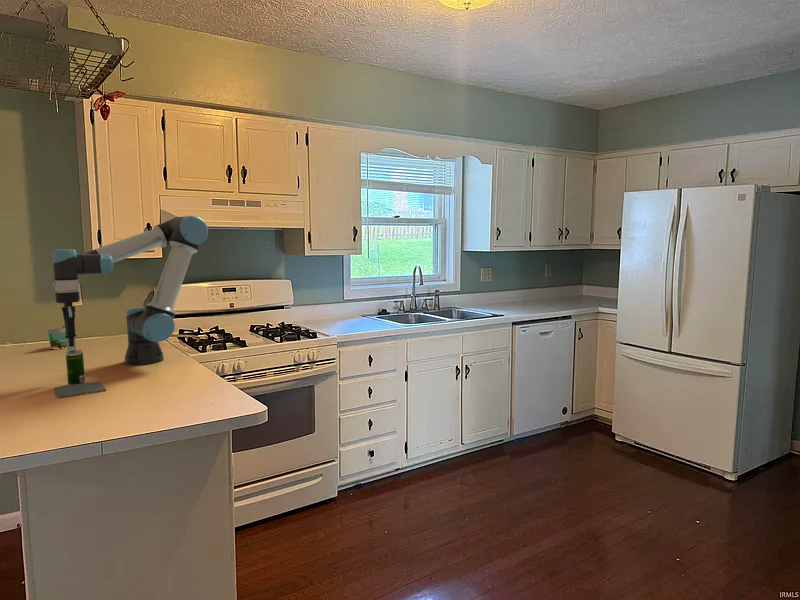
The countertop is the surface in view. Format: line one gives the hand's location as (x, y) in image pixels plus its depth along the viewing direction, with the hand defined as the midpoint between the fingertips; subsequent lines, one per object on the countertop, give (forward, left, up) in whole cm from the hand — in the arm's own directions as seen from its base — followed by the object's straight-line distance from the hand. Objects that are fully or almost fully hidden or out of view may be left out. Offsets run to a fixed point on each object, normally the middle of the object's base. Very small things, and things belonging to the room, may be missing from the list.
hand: (71, 354), depth 207 cm
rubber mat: (+18, 0, -10) cm, 21 cm away
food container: (-75, +3, -10) cm, 75 cm away
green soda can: (+8, 0, -10) cm, 13 cm away
